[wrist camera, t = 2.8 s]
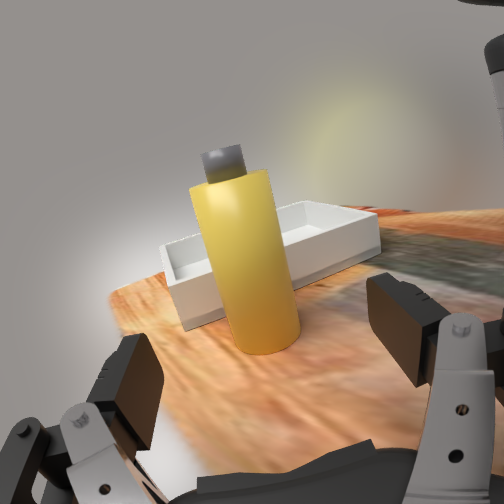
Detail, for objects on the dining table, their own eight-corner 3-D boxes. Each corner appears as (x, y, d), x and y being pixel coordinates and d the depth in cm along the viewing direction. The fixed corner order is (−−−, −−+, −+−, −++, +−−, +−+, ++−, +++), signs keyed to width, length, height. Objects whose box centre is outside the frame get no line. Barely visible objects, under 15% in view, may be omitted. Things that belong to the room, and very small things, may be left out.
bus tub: (310, 228, 47) (305, 200, 45) (381, 253, 32) (377, 213, 31) (169, 276, 41) (158, 246, 40) (185, 331, 27) (168, 286, 25)
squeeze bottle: (283, 308, 27) (245, 144, 22) (313, 335, 22) (272, 136, 17) (227, 331, 25) (177, 161, 21) (247, 364, 20) (186, 156, 16)
